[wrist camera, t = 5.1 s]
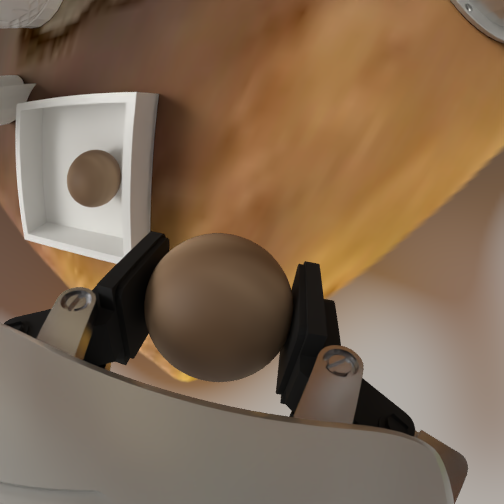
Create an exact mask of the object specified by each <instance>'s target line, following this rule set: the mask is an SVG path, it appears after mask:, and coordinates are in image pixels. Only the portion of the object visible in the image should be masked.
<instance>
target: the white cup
mask: <svg viewBox="0 0 504 504" xmlns="http://www.w3.org/2000/svg"><path fill="white" fill-rule="evenodd" d="M62 1H63V0H0V28H20V27H22V28H36V27H40V26H42V25H43V24H45V23H46V22H47V21H49V20H50V19H51V18H52V16H53V15H54V14H55V13H56V12H57V10H58V9H59V7H60V5H61V3H62Z"/></svg>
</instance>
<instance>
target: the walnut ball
mask: <svg viewBox="0 0 504 504" xmlns="http://www.w3.org/2000/svg"><path fill="white" fill-rule="evenodd" d="M144 314H145V321H146V325H147V329H148V332H149V335H150V337H151V339H152V341H153V343H154V345H155V346H156V348H157V349H158V351H159V352H160V353H161V355H162V356H163V357H164V358H165V359H166V360H167V361H168V362H169V363H170V364H171V365H173V366H174V367H175V368H177V369H178V370H180V371H181V372H183V373H185V374H187V375H189V376H192V377H194V378H197V379H201V380H205V381H212V382H227V381H234V380H239V379H242V378H244V377H247V376H250V375H252V374H254V373H256V372H257V371H259V370H261V369H262V368H264V367H265V366H266V365H267V364H269V363H270V362H271V361H272V360H273V359H274V357H275V356H276V355H277V354H278V353H279V352H280V350H281V348H282V347H283V345H284V344H285V342H286V340H287V337H288V334H289V330H290V326H291V321H292V316H293V296H292V291H291V288H290V285H289V282H288V279H287V277H286V275H285V273H284V271H283V270H282V268H281V267H280V265H279V264H278V262H277V261H276V260H275V259H274V258H273V256H272V255H271V254H269V253H268V252H267V251H266V250H265V249H263V248H262V247H261V246H259V245H258V244H256V243H254V242H252V241H250V240H248V239H245V238H242V237H239V236H235V235H231V234H223V233H213V234H205V235H201V236H197V237H193V238H191V239H188V240H186V241H184V242H182V243H181V244H179V245H177V246H176V247H174V248H173V249H172V250H171V251H169V252H168V253H167V254H166V255H165V256H164V257H163V258H162V259H161V261H160V262H159V263H158V265H157V266H156V268H155V269H154V271H153V273H152V275H151V277H150V280H149V282H148V285H147V288H146V294H145V300H144Z"/></svg>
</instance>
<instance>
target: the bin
mask: <svg viewBox="0 0 504 504" xmlns="http://www.w3.org/2000/svg"><path fill="white" fill-rule="evenodd" d="M158 99H159V94H155V93H143V92H119V93H99V94H85V95H74V96H65V97H57V98H49V99H42V100H36V101H30V102H24V103H19V104H17V107H16V170H17V184H18V195H19V204H20V212H21V219H22V226H23V232H24V237H25V239H26V240H29V241H33V242H36V243H40V244H43V245H47V246H50V247H54V248H58V249H61V250H65V251H69V252H73V253H76V254H80V255H84V256H88V257H92V258H96V259H100V260H104V261H107V262H112V263H116V264H117V263H118V262H119V261H120V260H121V259H122V258H123V257H124V256H125V255H126V254H127V253H128V252H129V251H130V250H131V249H133V248H134V247H135V246H136V245H137V244H138V243H139V242H140V241H141V240H142V239H143V238H144V237H145V236H146V235H147V234H148V233H149V232H150V216H151V183H152V164H153V150H154V137H155V126H156V116H157V107H158ZM89 150H103V151H106V152H108V153H109V154H111V155H112V156H113V157H114V158H115V159H116V160H117V162H118V164H119V166H120V169H121V184H120V187H119V190H118V192H117V193H116V195H115V196H114V197H113V198H112V199H111V200H110V201H109V202H108V203H106V204H104V205H102V206H99V207H86V206H83V205H81V204H79V203H77V202H76V201H75V200H74V199H73V198H72V196H71V195H70V193H69V190H68V187H67V174H68V170H69V168H70V166H71V164H72V162H73V161H74V160H75V159H76V158H77V157H78V156H79V155H80V154H82V153H84V152H86V151H89Z"/></svg>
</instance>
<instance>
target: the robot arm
mask: <svg viewBox="0 0 504 504" xmlns="http://www.w3.org/2000/svg"><path fill="white" fill-rule="evenodd" d="M450 1H451V2H452V3H453V4H454V5H455V7H456V8H457V9H458V10H459V11H460V12H461V13H462V15H463V16H464V17H465V18H466V19H467V20H468V21H469V22H471V23H472V24H473V25H474V26H475V27H476V28H477V29H479V30H480V31H481V32H483V33H484V34H486V35H487V36H489V37H491V38H492V39H494V40H496V41H499V42H502V43H504V0H450ZM168 252H169V239H168V238H166V237H165V234H162V233H157V232H152V231H151V232H149V233H148V234H147V235H146V236H145V237H144V238H143V239H142V240H141V241H140V242H139V243H138V244H137V245H136V246H135V247H134V248H133V249H131V250H130V251H129V252H128V253H127V254H126V255H125V256H124V257H123V258H122V259H121V260H120V261H119V262H118V263H117V264H116V265H115V266H114V267H113V268H112V269H111V270H110V271H109V272H108V273H107V275H106V276H105V277H104V278H103V279H102V280H101V281H100V282H99V283H98V284H97V286H96V287H95V288H94V289H93V290H92V291H91V290H89V289H87V288H83V287H76V288H71V289H69V290H66V291H64V292H63V293H62V294H61V295H60V296H59V297H58V298H57V300H56V302H55V304H54V306H53V307H52V309H49V310H45V311H41V312H36V313H32V314H28V315H23V316H19V317H15V318H12V319H10V320H8V321H6V322H5V323H4V324H2V323H0V504H455V502H456V500H457V497H458V495H459V493H460V490H461V488H462V486H463V483H464V481H465V478H466V476H467V472H468V465H467V461H466V459H465V458H464V456H462V455H461V454H460V453H459V452H457V451H455V450H453V449H451V448H450V447H448V446H447V445H445V444H444V443H442V442H440V441H438V440H437V439H435V438H434V437H432V436H430V435H429V434H427V433H426V432H424V431H422V430H421V431H420V432H417V431H415V427H414V423H413V421H412V419H411V418H410V417H409V416H408V415H407V414H406V413H405V412H404V411H403V410H401V409H400V408H399V407H398V406H396V405H395V404H394V403H393V402H391V401H390V400H389V399H388V398H386V397H385V396H384V395H383V394H381V393H380V392H379V391H378V390H376V389H375V388H374V387H373V386H371V385H370V384H369V383H368V382H366V381H365V380H364V379H363V378H362V375H363V362H362V360H361V358H360V357H359V356H358V355H357V354H356V353H355V352H354V351H352V350H351V349H349V348H347V347H343V346H341V343H340V335H339V328H338V321H337V315H336V308H335V303H334V301H332V300H326V299H324V298H323V289H322V281H321V273H320V265H319V264H316V263H311V262H306V261H305V262H304V265H302V264H298V267H297V271H296V275H295V279H294V283H293V286H292V290H291V291H292V296H293V316H292V321H291V326H290V330H289V334H288V337H287V340H286V342H285V344H284V345H283V347H282V348H281V350H280V357H279V367H278V378H277V387H276V394H281V403H282V404H286V405H287V406H288V407H289V408H290V409H291V410H292V412H291V414H290V416H289V417H287V416H280V415H274V414H267V413H262V412H256V411H250V410H245V409H240V408H235V407H230V406H226V405H221V404H217V403H213V402H208V401H204V400H200V399H196V398H192V397H189V396H185V395H181V394H178V393H174V392H171V391H167V390H164V389H161V388H158V387H154V386H151V385H148V384H145V383H142V382H139V381H136V380H133V379H130V378H127V377H124V376H122V375H119V374H116V373H113V372H111V371H110V368H111V362H118V363H121V364H124V365H126V364H127V362H128V361H129V359H130V358H132V359H133V358H134V357H135V356H136V354H137V352H138V351H139V349H140V347H141V346H142V344H143V342H144V340H145V339H146V337H147V335H148V334H149V332H148V329H147V325H146V321H145V314H144V300H145V294H146V288H147V285H148V282H149V280H150V277H151V275H152V273H153V271H154V269H155V268H156V266H157V265H158V263H159V262H160V261H161V259H162V258H163V257H164V256H165V255H166V254H167V253H168Z"/></svg>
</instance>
